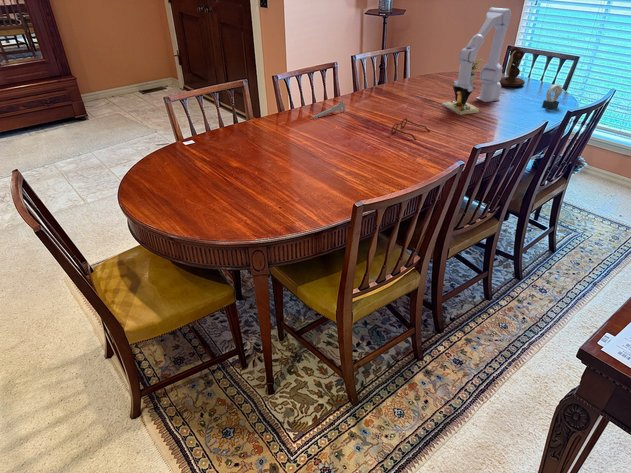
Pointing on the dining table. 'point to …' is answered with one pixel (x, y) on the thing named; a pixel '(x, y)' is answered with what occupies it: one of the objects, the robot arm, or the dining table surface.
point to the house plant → (473, 70)
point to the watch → (552, 102)
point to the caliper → (331, 110)
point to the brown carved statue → (513, 70)
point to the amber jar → (459, 99)
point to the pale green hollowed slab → (461, 108)
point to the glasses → (404, 126)
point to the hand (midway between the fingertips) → (460, 102)
